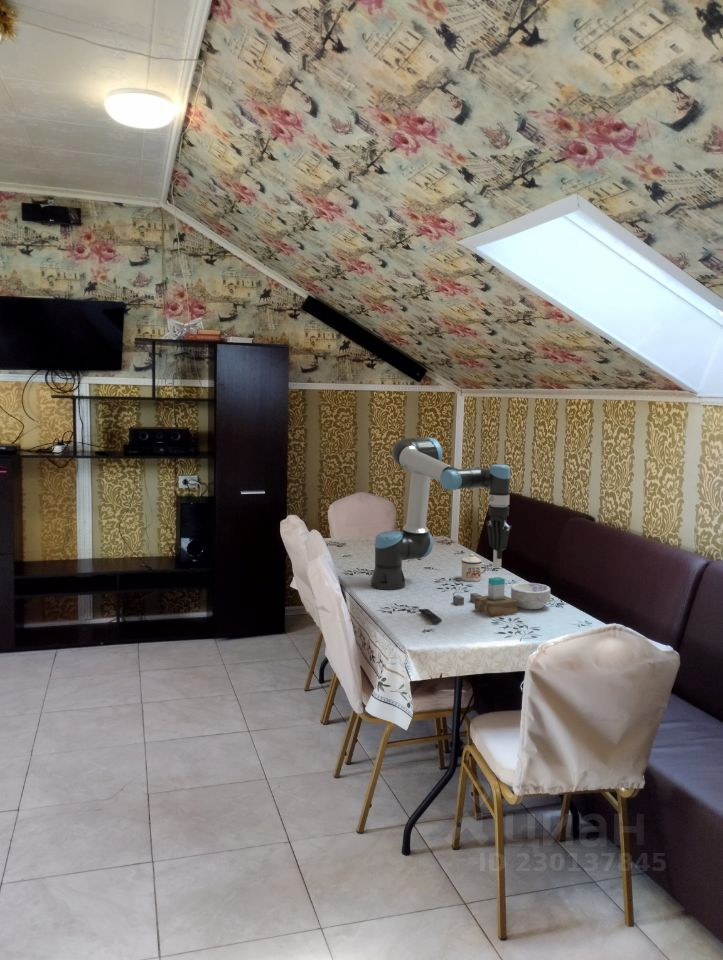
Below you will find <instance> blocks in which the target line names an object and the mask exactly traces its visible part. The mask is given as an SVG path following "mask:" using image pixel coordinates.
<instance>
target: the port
mask: <svg viewBox="0 0 723 960" xmlns="http://www.w3.org/2000/svg"><path fill="white" fill-rule="evenodd" d="M517 604H518V601H517V600H514V599H512V598H511V597H510V596H506V595H504V600H499V601H491V600H489V599H488V595H481V596H480V597H475V603H474V611H475V612H478V611H479V613H481V614H483V615H485V616H488V617H490V618H496V617H495V616H497V617H502V615H504V616H509V615H508V614H510V615H515V614H514V613H517V614H518V605H517Z"/></svg>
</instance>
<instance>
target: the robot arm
mask: <svg viewBox="0 0 723 960" xmlns="http://www.w3.org/2000/svg"><path fill="white" fill-rule="evenodd" d="M442 449H443V448H442V445H441V444H440V442H439V441H438V440H437V439H435V438H434V437H426V436H425V437H404V438H401V439H399V440H398V441H396V442H395V444H393V447H392V450H391V457H392V460H393V461H394V462H395V463H396V464H397V465H398V466H400V467H403V469H409V471H411V473H410V482H409V484H410V485H409V492H408V493H409V495H408V505H407V513H406V514H407V516H406V524H405V525H403V527H402V531H400V530H386V531H382V532H380V533H378V534H377V535H376V536H375V540H374V542H375V543H374V569H373V573H372V575H371V579H370V586H371V587H372V588H374V587H375V588H374V589H377V588H379V589H378V590H385V589H389V591H390V590H391V591H393V589H394V590H399V589H400V588H401V589H403V587H404V588H405V587H406V579H405V576H404V572H403V568H402V565H403V561H408V560H418V559H422V558H426V557H428V556H429V555H430V554H431V552H432V550H433V547H434V539H433V536H432V534H431V533H430V530H429V528H428V527H427V520H428V519H427V518H428V509H429V500H430V499H429V498H430V488H431V480H432V479H433V480H435V481H437V482H438V483H440V486H441V487H442V488H443V489H445V490H446V491H447V490H449V491H451V490H452V491H455V490H464V489H477V488H479V489H480V488H481V489H482V488H484V489H488V490H489V497H488V498H489V499H488V500H489V501H488V503H489V504H488V505H489V506H488V516H489V517H490V519H489V520H487V521H485V524H486V527H487V536H488V545H489V547H490V548H491V549H492V557H493V558H492V562H493V563H492V567H494V568H500V567H501V568H502V559H503V551H504V550H507V547H508V541H509V536H510V531H511V529H512V525H509V524H508V520H507V517H508V516H510V515H509V514H510V506H509V505H510V490H511V489H510V485H511V482H510V481H511V468H510V466H509V465H507V464H491V465H490V467H489V468H486V467H485V468H484V467H480V466H478V467H477V466H475V467H474V466H473V467H471V468H457V467H455V466H452V465H450V464H447V463H446V462H444V461H442V459H443V450H442Z"/></svg>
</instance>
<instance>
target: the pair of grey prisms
mask: <svg viewBox="0 0 723 960" xmlns="http://www.w3.org/2000/svg"><path fill="white" fill-rule="evenodd" d="M469 596H470V598H469V601H470V602H472V603H474V602H475V597H480V596H482V595H481V594H480V593H477V592H471V593H470V595H469ZM452 604H454V605H457V606H458V605H459V606H464V604H465V597H464V596H462V595H459V594H454V595H453V596H452Z"/></svg>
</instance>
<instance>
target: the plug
mask: <svg viewBox="0 0 723 960" xmlns="http://www.w3.org/2000/svg"><path fill="white" fill-rule="evenodd" d="M505 580H506V579H505V578H503V577H501V576H496V577H495V576H494V577H489V578H488V581H487V582H488V583H487V585H488V586H487V587H488V588H487V589H488V590H487V596H488V599H489V600H491V601H499V600H504V596H505V587H506V586H505Z"/></svg>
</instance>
